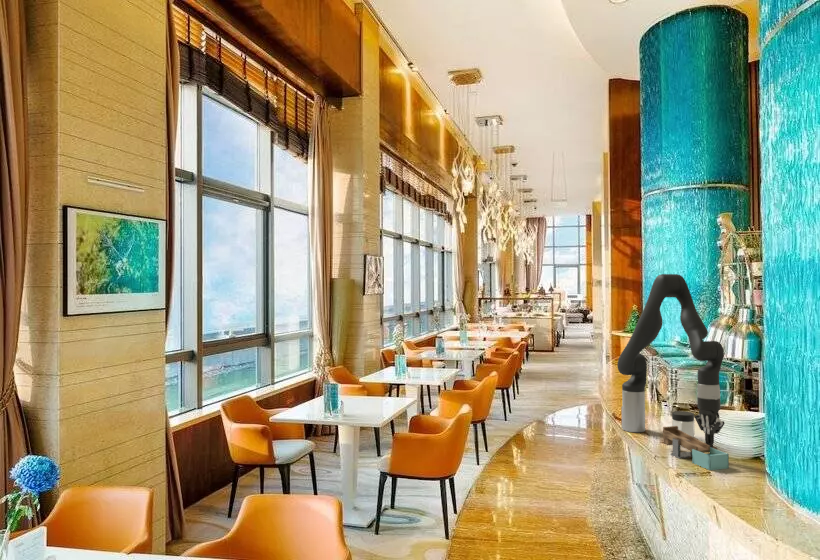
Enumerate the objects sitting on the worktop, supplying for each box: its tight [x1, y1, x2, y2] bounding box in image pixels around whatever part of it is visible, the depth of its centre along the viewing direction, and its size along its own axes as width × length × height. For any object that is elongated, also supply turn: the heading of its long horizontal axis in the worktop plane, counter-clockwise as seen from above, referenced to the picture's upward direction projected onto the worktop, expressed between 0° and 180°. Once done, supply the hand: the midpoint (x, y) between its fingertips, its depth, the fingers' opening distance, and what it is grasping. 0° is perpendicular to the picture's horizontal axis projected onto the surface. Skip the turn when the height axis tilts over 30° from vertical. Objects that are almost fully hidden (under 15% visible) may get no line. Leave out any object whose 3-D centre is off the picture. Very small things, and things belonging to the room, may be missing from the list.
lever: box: [662, 425, 718, 454], centre depth 229 cm, size 18×10×6 cm, turn 15°
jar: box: [671, 410, 696, 437], centre depth 246 cm, size 9×8×12 cm
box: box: [691, 447, 730, 471], centre depth 216 cm, size 9×8×5 cm
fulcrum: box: [670, 437, 699, 460], centre depth 228 cm, size 5×9×6 cm, turn 105°
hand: (709, 443), depth 223 cm, fingers closed
